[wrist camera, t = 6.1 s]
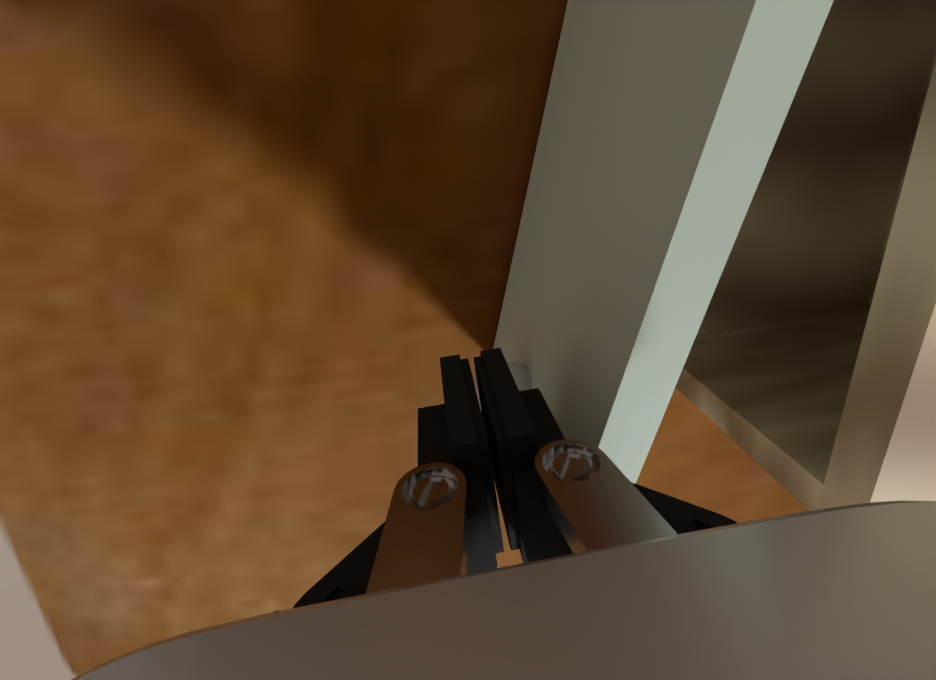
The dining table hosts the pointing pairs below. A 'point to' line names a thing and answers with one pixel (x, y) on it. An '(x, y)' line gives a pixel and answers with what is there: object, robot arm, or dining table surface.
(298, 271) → the dining table surface
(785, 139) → the cabinet
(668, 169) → the door
